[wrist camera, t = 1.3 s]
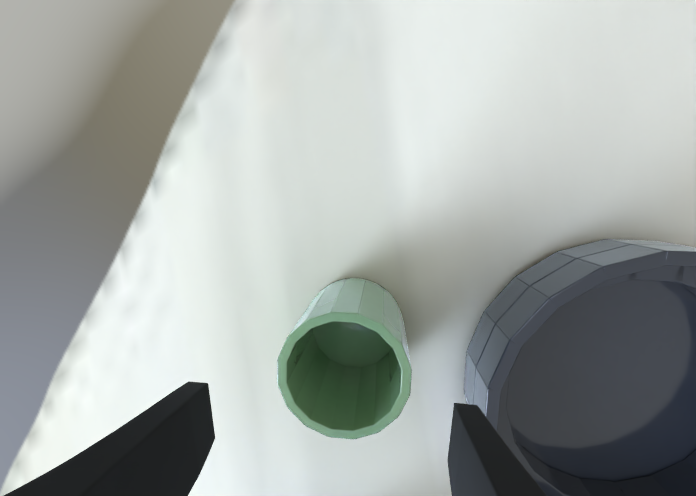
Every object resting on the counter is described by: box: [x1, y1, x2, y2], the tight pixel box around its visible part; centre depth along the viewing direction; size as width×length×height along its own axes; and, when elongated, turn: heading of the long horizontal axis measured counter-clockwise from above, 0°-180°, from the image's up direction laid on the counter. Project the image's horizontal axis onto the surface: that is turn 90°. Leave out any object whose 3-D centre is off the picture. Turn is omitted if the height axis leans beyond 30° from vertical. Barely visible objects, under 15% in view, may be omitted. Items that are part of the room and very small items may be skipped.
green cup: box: [278, 278, 412, 439], centre depth 17 cm, size 5×5×6 cm
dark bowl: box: [464, 239, 696, 496], centre depth 17 cm, size 15×15×4 cm
